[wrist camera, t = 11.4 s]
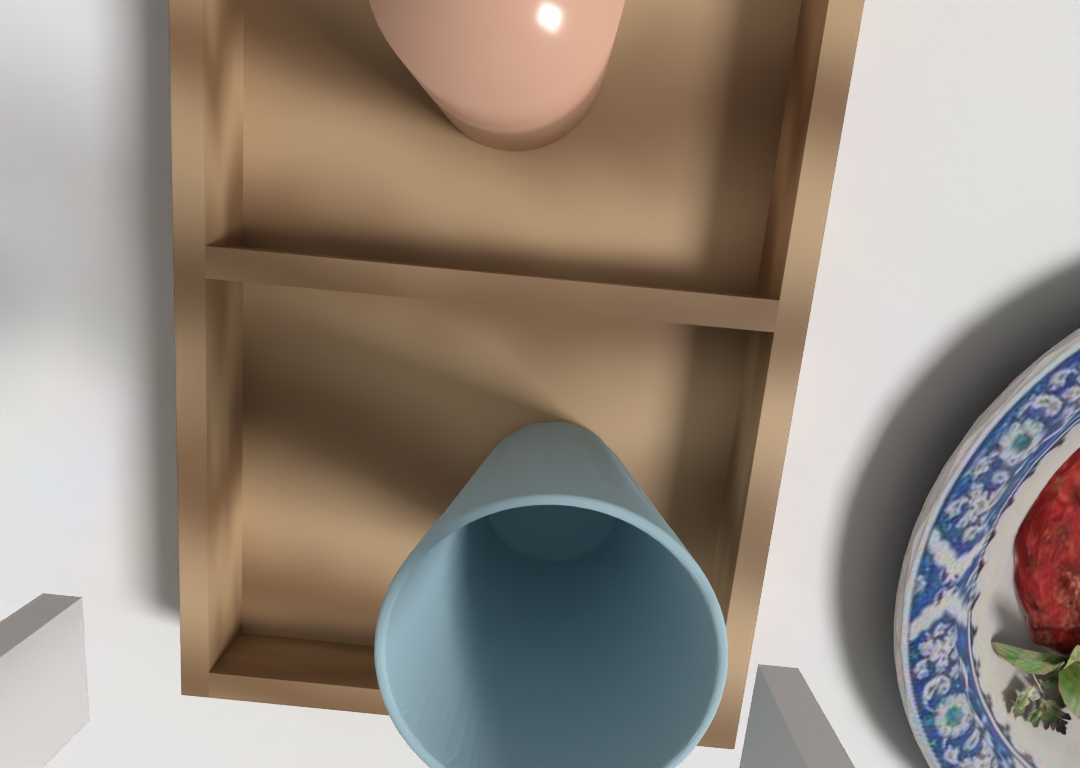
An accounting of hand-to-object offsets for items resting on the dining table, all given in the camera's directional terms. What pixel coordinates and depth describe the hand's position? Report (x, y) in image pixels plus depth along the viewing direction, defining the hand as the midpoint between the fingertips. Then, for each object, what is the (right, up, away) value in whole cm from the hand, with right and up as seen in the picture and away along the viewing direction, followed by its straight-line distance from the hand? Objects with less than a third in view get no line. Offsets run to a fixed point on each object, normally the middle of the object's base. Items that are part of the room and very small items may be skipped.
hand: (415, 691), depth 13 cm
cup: (+3, +2, +12) cm, 12 cm away
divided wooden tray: (+1, +10, +11) cm, 15 cm away
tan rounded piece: (+2, +17, +9) cm, 19 cm away
